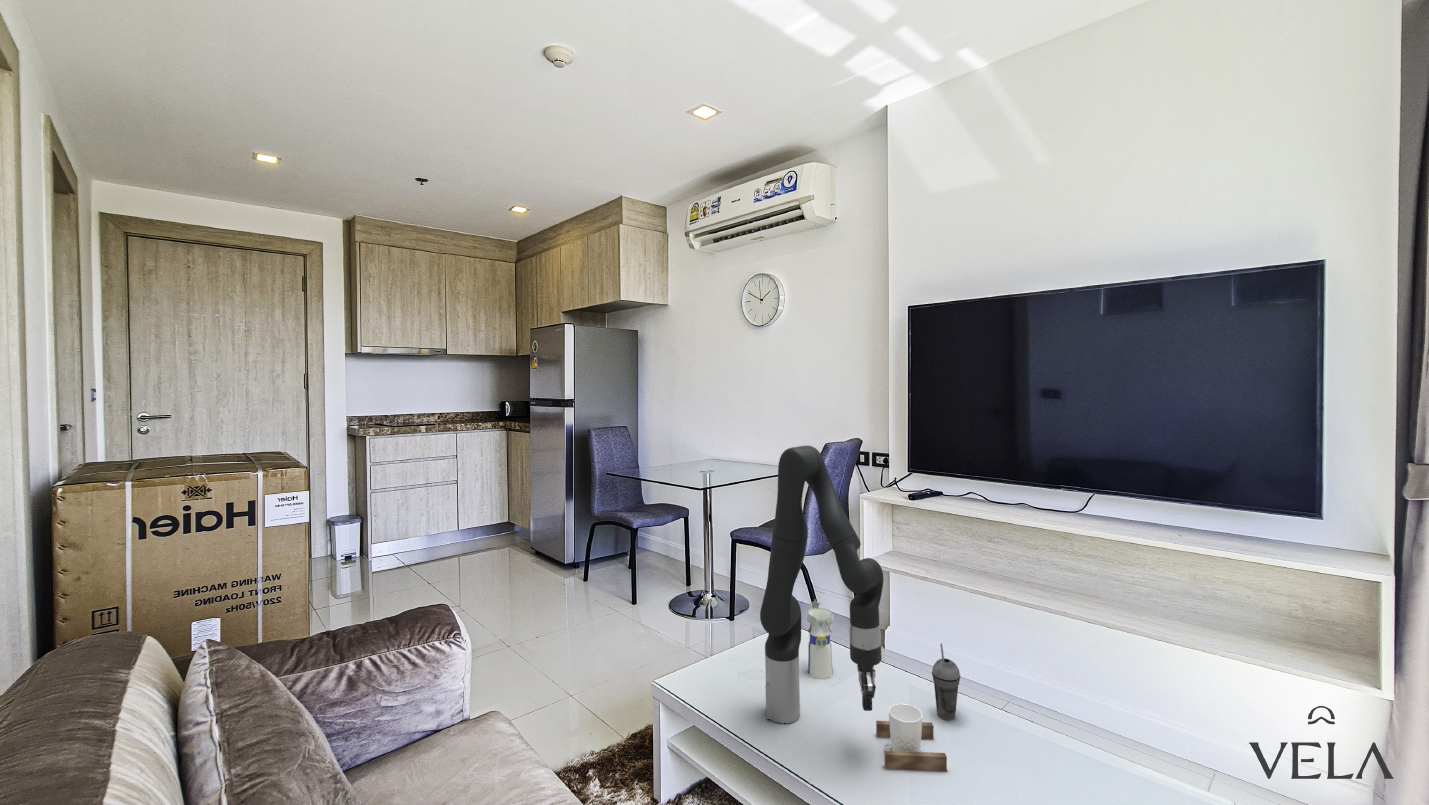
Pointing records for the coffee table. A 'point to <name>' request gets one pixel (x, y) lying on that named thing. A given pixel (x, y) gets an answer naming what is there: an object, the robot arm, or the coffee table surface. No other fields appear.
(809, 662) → the white and blue figurine
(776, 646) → the robot arm
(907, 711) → the white cup
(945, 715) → the beverage cup
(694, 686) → the coffee table surface
